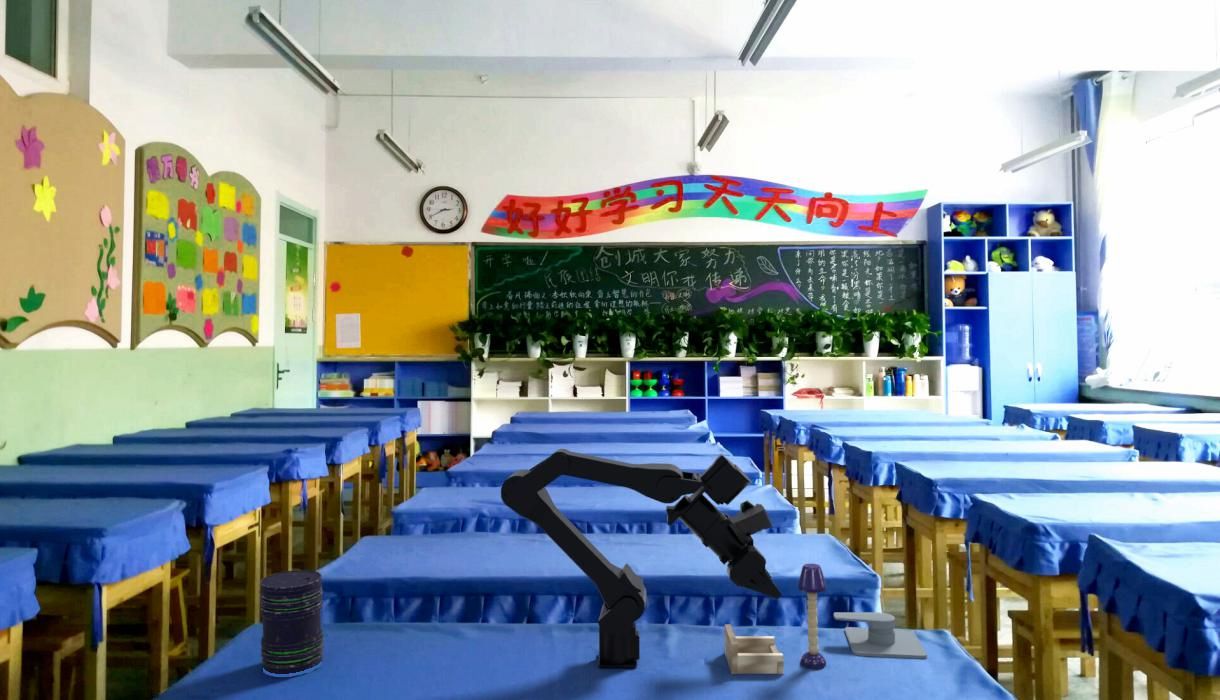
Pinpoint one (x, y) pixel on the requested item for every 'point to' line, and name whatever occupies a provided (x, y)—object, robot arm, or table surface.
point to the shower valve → (880, 636)
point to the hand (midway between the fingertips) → (774, 588)
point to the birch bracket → (752, 654)
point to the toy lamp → (812, 612)
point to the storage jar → (291, 621)
